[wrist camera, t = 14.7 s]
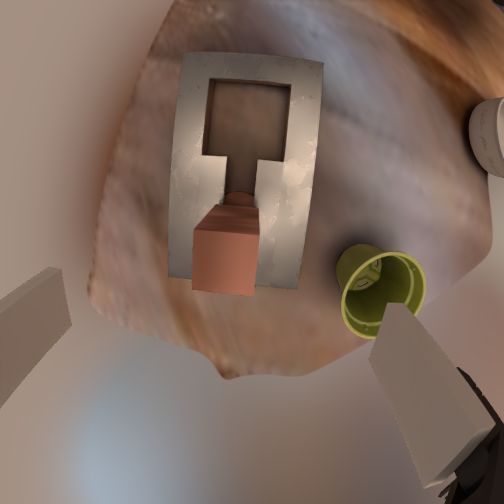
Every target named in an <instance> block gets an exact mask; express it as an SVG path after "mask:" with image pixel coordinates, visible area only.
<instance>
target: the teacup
mask: <svg viewBox="0 0 504 504" xmlns="http://www.w3.org/2000/svg"><path fill="white" fill-rule="evenodd" d="M469 138H470V143H471V147H472V150H473V152H474V155H475V157H476V159H477V160H478V162H479V163H480V165H481V166H482V167H483V168H484V169H485V170H486V171H487V172H489V173H491V174H493V175H495V176H498V177H502V178H504V97H501V98H495V99H490V100H487V101H484V102H482V103H480V104H478V105H477V106H476V107H475V109H474V110H473V112H472V114H471V117H470V121H469Z"/></svg>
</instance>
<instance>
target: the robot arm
mask: <svg viewBox="0 0 504 504" xmlns="http://www.w3.org/2000/svg"><path fill="white" fill-rule="evenodd" d="M492 2H493V3H494V4H495V5H496V6H497V7H499V8H500V10H501V11H502V12H503V13H504V0H492ZM71 326H72V324H71V319H70V315H69V310H68V305H67V300H66V294H65V289H64V283H63V277H62V270H61V269H58V268H52V267H48V268H46V269H45V270H43V271H42V272H40V273H39V274H37V275H36V276H34V277H33V278H31V279H30V280H28V281H27V282H25V283H24V284H22V285H21V286H19V287H18V288H17V289H15V290H14V291H12V292H11V293H10V294H8V295H7V296H5V297H4V298H3V299H1V300H0V408H1V407H2V405H3V404H4V403H5V402H6V401H7V399H8V398H9V397H10V396H11V394H12V393H13V392H14V391H15V389H16V388H17V387H18V386H19V385H20V383H21V382H22V381H23V380H24V379H25V377H26V376H27V375H28V374H29V373H30V371H31V370H32V369H33V368H34V367H35V366H36V364H37V363H38V362H39V361H40V360H41V359H42V358H43V356H44V355H45V354H46V353H47V352H48V351H49V350H50V348H52V346H53V345H54V344H55V343H56V342H57V341H58V340H59V339H60V338H61V336H62V335H63V334H64V333H65V332H66V331H67V330H68V329H69V328H70V327H71ZM369 361H370V363H371V365H372V368H373V370H374V372H375V374H376V376H377V378H378V380H379V383H380V384H381V387H382V389H383V391H384V394H385V396H386V398H387V400H388V402H389V405H390V407H391V409H392V412H393V414H394V416H395V418H396V421H397V423H398V426H399V428H400V430H401V433H402V435H403V438H404V440H405V442H406V445H407V447H408V450H409V452H410V455H411V457H412V460H413V462H414V465H415V467H416V470H417V473H418V475H419V478H420V481H421V483H422V486H423V488H427V487H430V486H433V485H436V484H439V483H442V482H444V481H445V480H446V479H447V478H448V477H449V476H450V475H451V474H452V473H453V472H455V474H456V476H457V478H456V479H455V480H454V481H453V482H451V484H450V485H448V486H447V487H446V488H445V489H444V490H443V491H441V493H440V494H439V496H438V497H442V496H443V495H444V494H445V493H447V492H448V491H449V493H448V495H447V496H446V497H445V499H446V501H445V504H504V423H503V422H502V421H501V419H500V418H499V416H498V415H497V413H496V412H495V410H494V409H493V407H492V406H491V405H490V403H489V402H488V400H487V399H486V398H485V396H484V395H483V396H482V392H481V391H480V389H479V388H478V387H476V384H475V383H474V382H473V380H472V379H471V377H470V376H469V375H468V374H466V373H465V372H464V371H462V370H461V369H460V368H459V367H455V366H454V364H453V363H452V362H451V360H450V359H449V358H448V356H447V355H446V354H445V352H444V351H443V350H442V349H441V347H440V346H439V345H438V344H437V342H436V341H435V340H434V339H433V337H432V336H431V335H430V334H429V333H428V332H427V330H426V329H425V328H424V327H423V325H422V324H421V323H420V322H419V321H418V319H417V318H416V317H415V316H414V315H413V313H412V312H411V311H410V310H409V309H408V308H407V306H406V305H405V304H404V303H387V306H386V309H385V312H384V316H383V319H382V322H381V325H380V328H379V331H378V334H377V337H376V340H375V343H374V345H373V348H372V351H371V353H370V356H369Z"/></svg>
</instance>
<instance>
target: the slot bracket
mask: <svg viewBox="0 0 504 504" xmlns="http://www.w3.org/2000/svg"><path fill="white" fill-rule="evenodd" d="M323 66H324V63H322V62H316V61H311V60H305V59H298V58H291V57H283V56H274V55H264V54H252V53H236V52H184V53H183V60H182V66H181V73H180V81H179V88H178V96H177V105H176V114H175V123H174V134H173V146H172V159H171V174H170V193H169V221H168V277H175V278H184V279H192V258H193V230H194V228H195V227H196V226H197V225H198V224H199V223H200V221H201V220H202V219H203V218H204V217H205V216H206V215H207V213H208V212H209V211H210V210H211V209H212V208H213V207H214V206H215V204H221V205H224V199H225V187H226V175H227V163H228V157H221V156H207V151H208V140H209V129H210V119H211V110H212V101H213V92H214V83H215V81H227V82H245V83H257V84H268V85H277V86H285V87H288V98H287V109H286V119H285V130H284V140H283V149H282V159H281V162H277V161H267V160H258V165H257V175H256V185H255V196H254V206H253V207H255V208H259V224H260V240H259V249H258V259H257V268H256V277H255V286H263V287H274V288H286V289H297V287H298V281H299V275H300V268H301V262H302V256H303V249H304V243H305V236H306V229H307V222H308V215H309V207H310V199H311V192H312V184H313V175H314V167H315V158H316V148H317V139H318V129H319V118H320V107H321V94H322V81H323Z"/></svg>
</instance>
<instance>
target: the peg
mask: <svg viewBox="0 0 504 504" xmlns="http://www.w3.org/2000/svg"><path fill="white" fill-rule="evenodd" d="M253 206H254V196H253V195H251V194H249V193H246V192H241V191H237V192H231V193H228V194H226V195H225V199H224V205H221V204H215V206H214V207H213V208H212V209H211V210H210V211H209V212H208V213H207V215H206V216H205V217H204V218H203V219H202V220H201V221H200V223H199V224H198V225H197V226H196V227H195V228H194V230H193V258H192V290H199V291H208V292H218V293H228V294H238V295H248V296H254V287H255V277H256V268H257V259H258V249H259V240H260V224H259V208H255V207H253Z"/></svg>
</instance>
